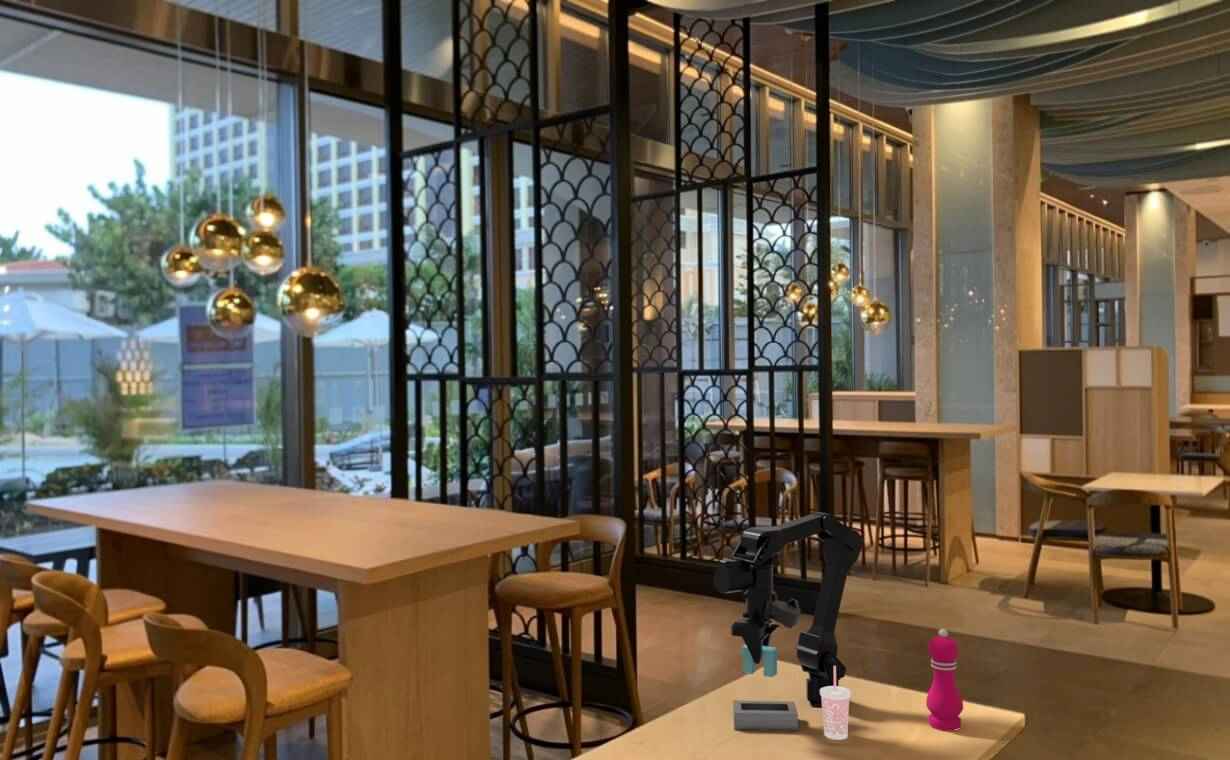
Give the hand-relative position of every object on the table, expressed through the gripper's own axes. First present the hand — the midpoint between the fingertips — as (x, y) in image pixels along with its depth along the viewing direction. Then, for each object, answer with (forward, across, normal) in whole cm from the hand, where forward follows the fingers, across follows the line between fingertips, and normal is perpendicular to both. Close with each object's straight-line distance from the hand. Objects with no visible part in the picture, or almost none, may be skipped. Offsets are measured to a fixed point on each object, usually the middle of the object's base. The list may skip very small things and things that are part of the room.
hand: (760, 661), depth 194 cm
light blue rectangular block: (+2, 0, 0) cm, 2 cm away
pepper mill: (+12, +13, -35) cm, 40 cm away
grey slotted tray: (+12, -2, -2) cm, 13 cm away
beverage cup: (+12, -2, -17) cm, 21 cm away
